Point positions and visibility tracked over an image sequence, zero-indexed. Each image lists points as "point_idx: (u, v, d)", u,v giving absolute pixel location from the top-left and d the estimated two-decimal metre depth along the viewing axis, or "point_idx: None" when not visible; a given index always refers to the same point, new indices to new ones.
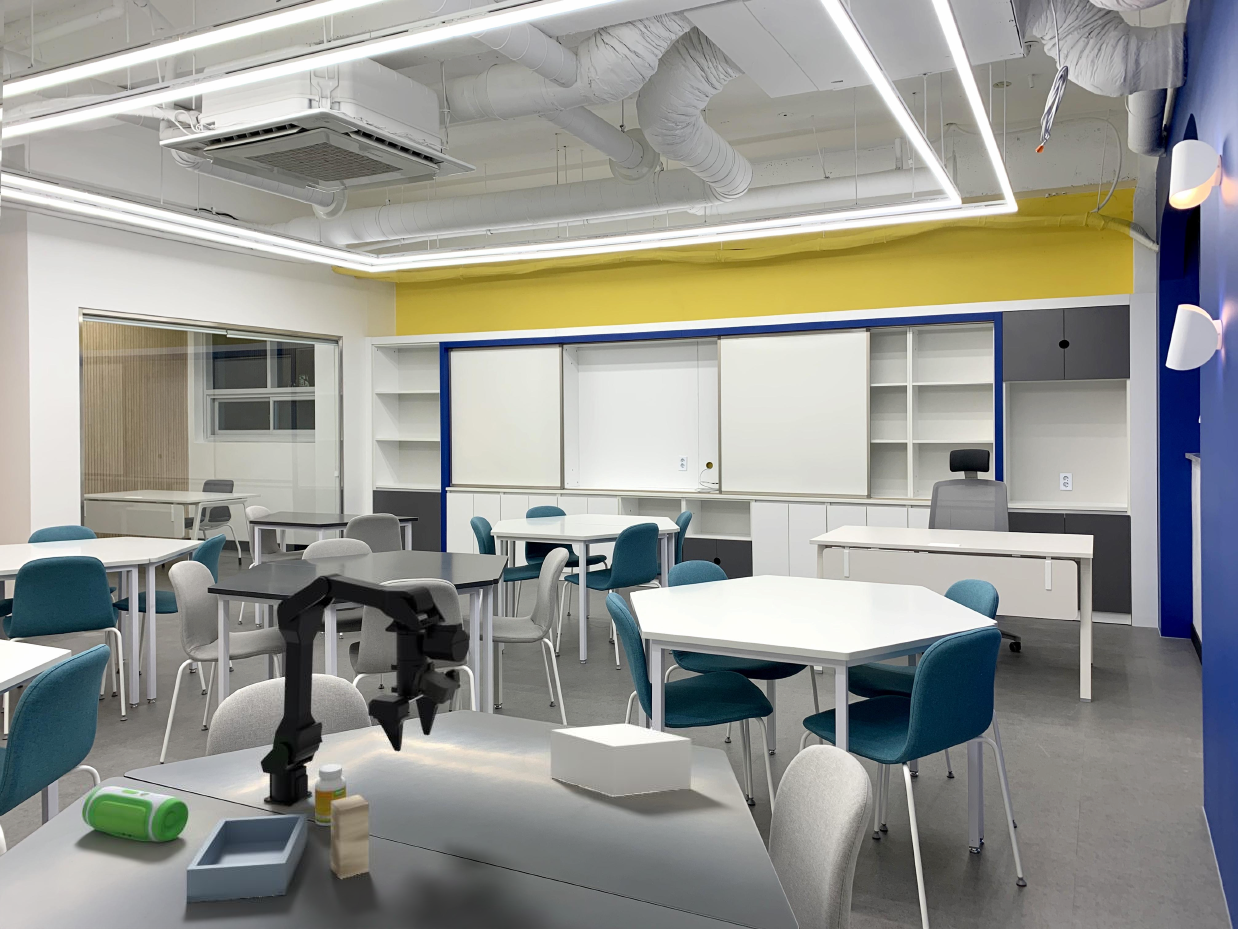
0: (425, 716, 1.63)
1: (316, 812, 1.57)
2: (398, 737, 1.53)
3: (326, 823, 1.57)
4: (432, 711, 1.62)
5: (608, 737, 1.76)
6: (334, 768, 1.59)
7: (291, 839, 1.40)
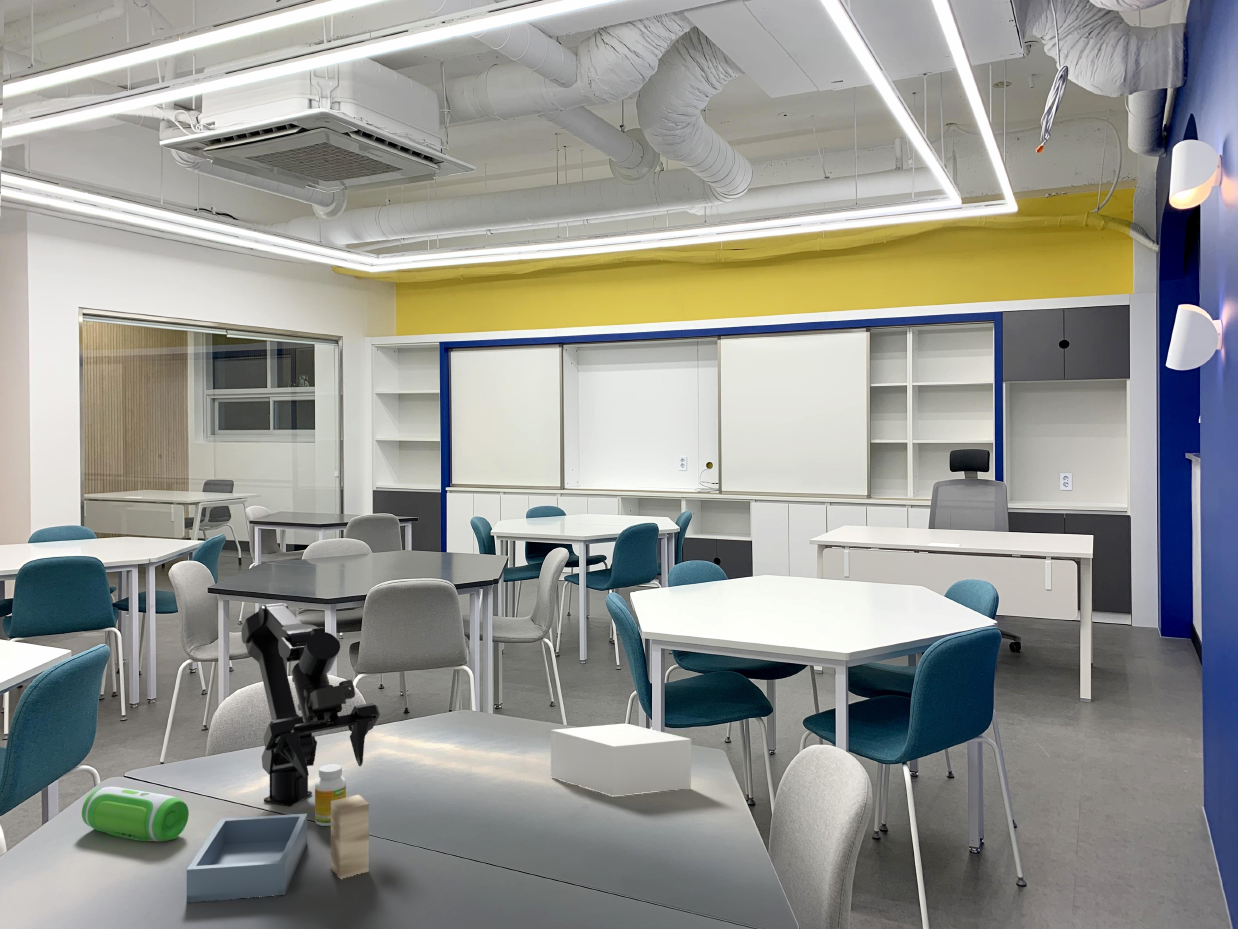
0: (355, 747, 1.53)
1: (316, 812, 1.57)
2: (298, 760, 1.45)
3: (326, 823, 1.57)
4: (357, 738, 1.52)
5: (608, 737, 1.76)
6: (334, 768, 1.59)
7: (291, 839, 1.40)
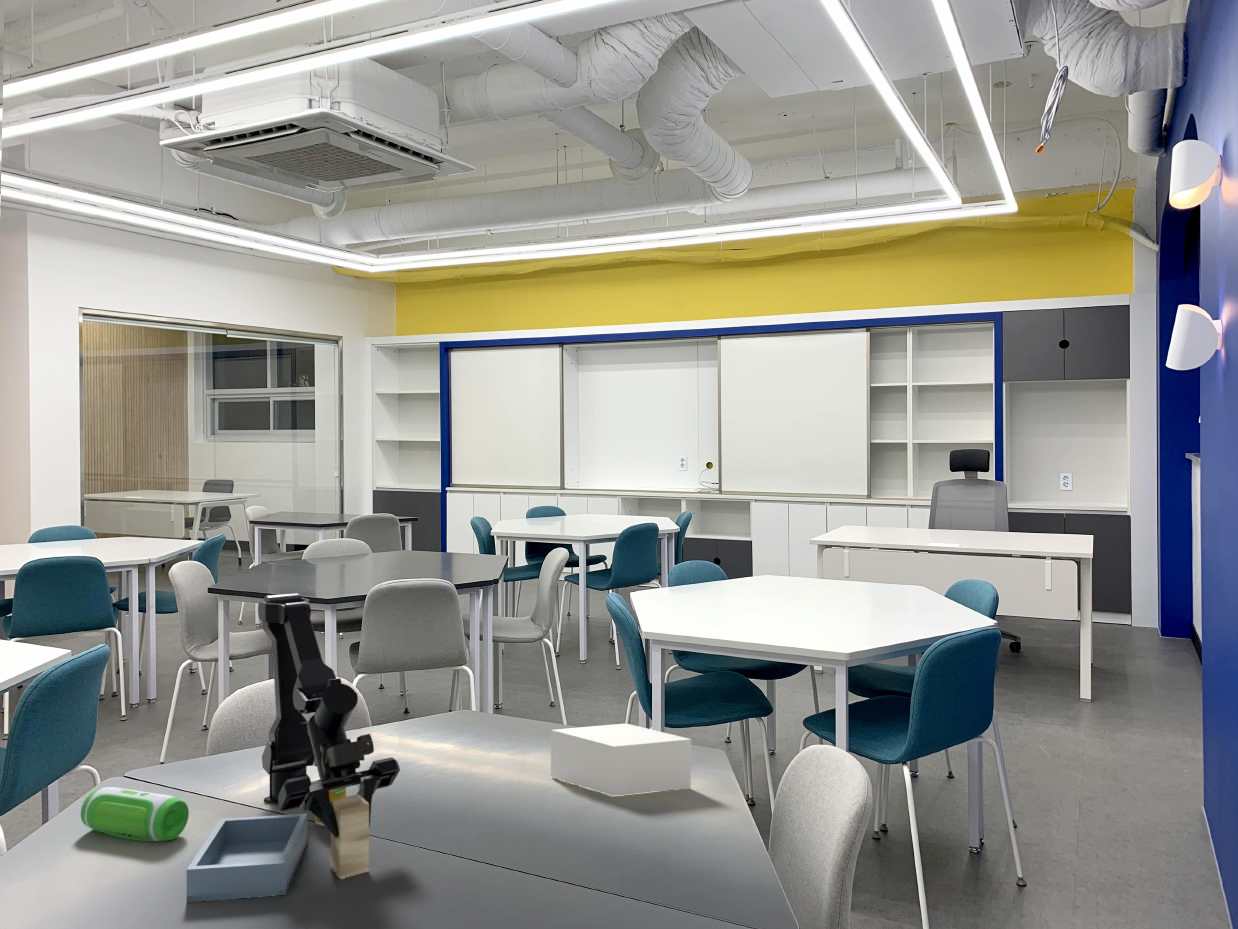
0: None
1: None
2: (328, 818, 1.39)
3: None
4: None
5: (608, 737, 1.76)
6: None
7: (291, 839, 1.40)
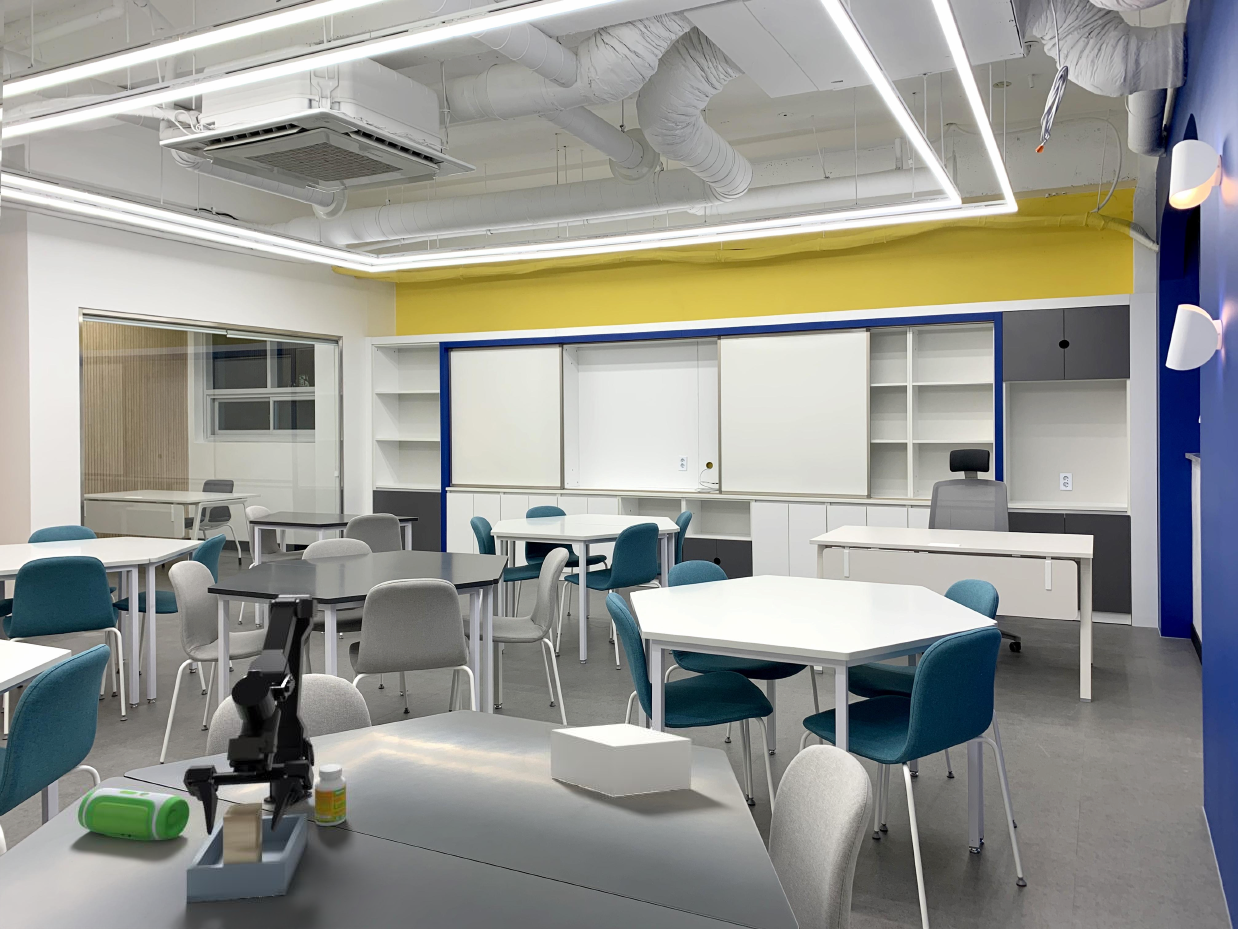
0: None
1: (316, 812, 1.57)
2: None
3: (326, 823, 1.57)
4: (277, 798, 1.37)
5: (608, 737, 1.76)
6: (334, 768, 1.59)
7: (291, 839, 1.40)
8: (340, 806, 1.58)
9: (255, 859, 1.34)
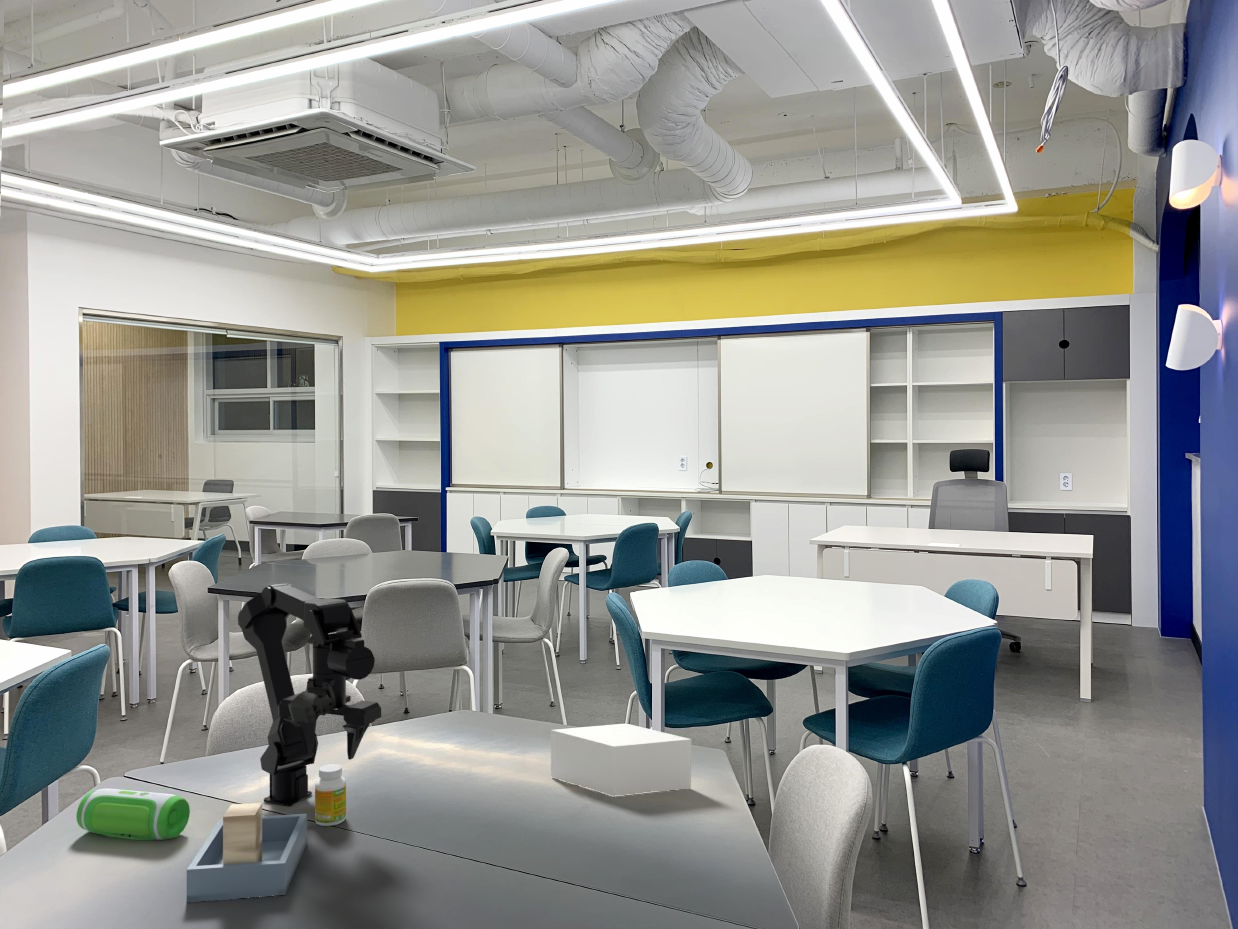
0: None
1: (316, 812, 1.57)
2: None
3: (326, 823, 1.57)
4: None
5: (608, 737, 1.76)
6: (334, 768, 1.59)
7: (291, 839, 1.40)
8: (340, 806, 1.58)
9: (255, 859, 1.34)
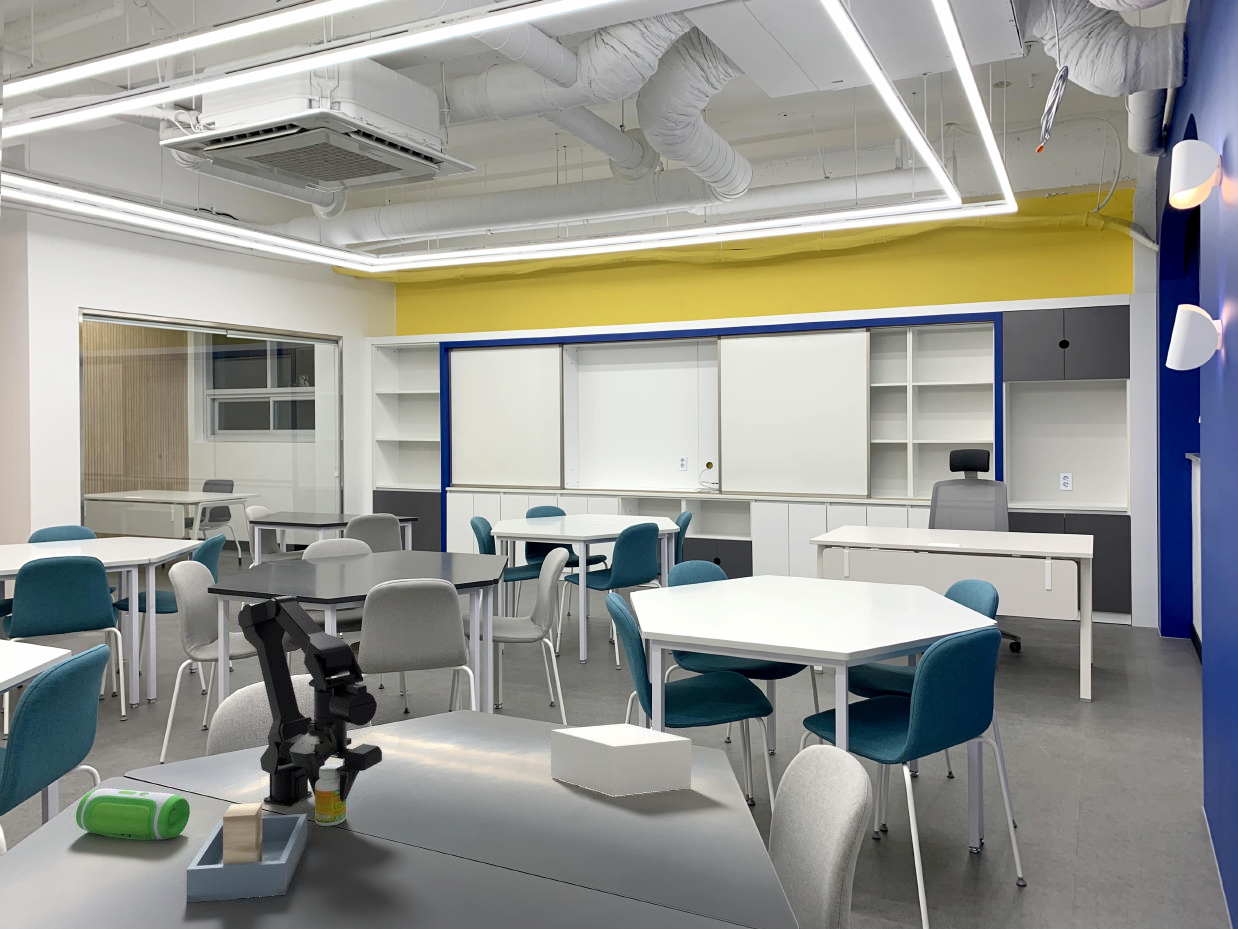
0: None
1: (316, 812, 1.57)
2: (310, 782, 1.60)
3: (326, 823, 1.57)
4: None
5: (608, 737, 1.76)
6: (334, 768, 1.59)
7: (291, 839, 1.40)
8: (340, 806, 1.58)
9: (255, 859, 1.34)
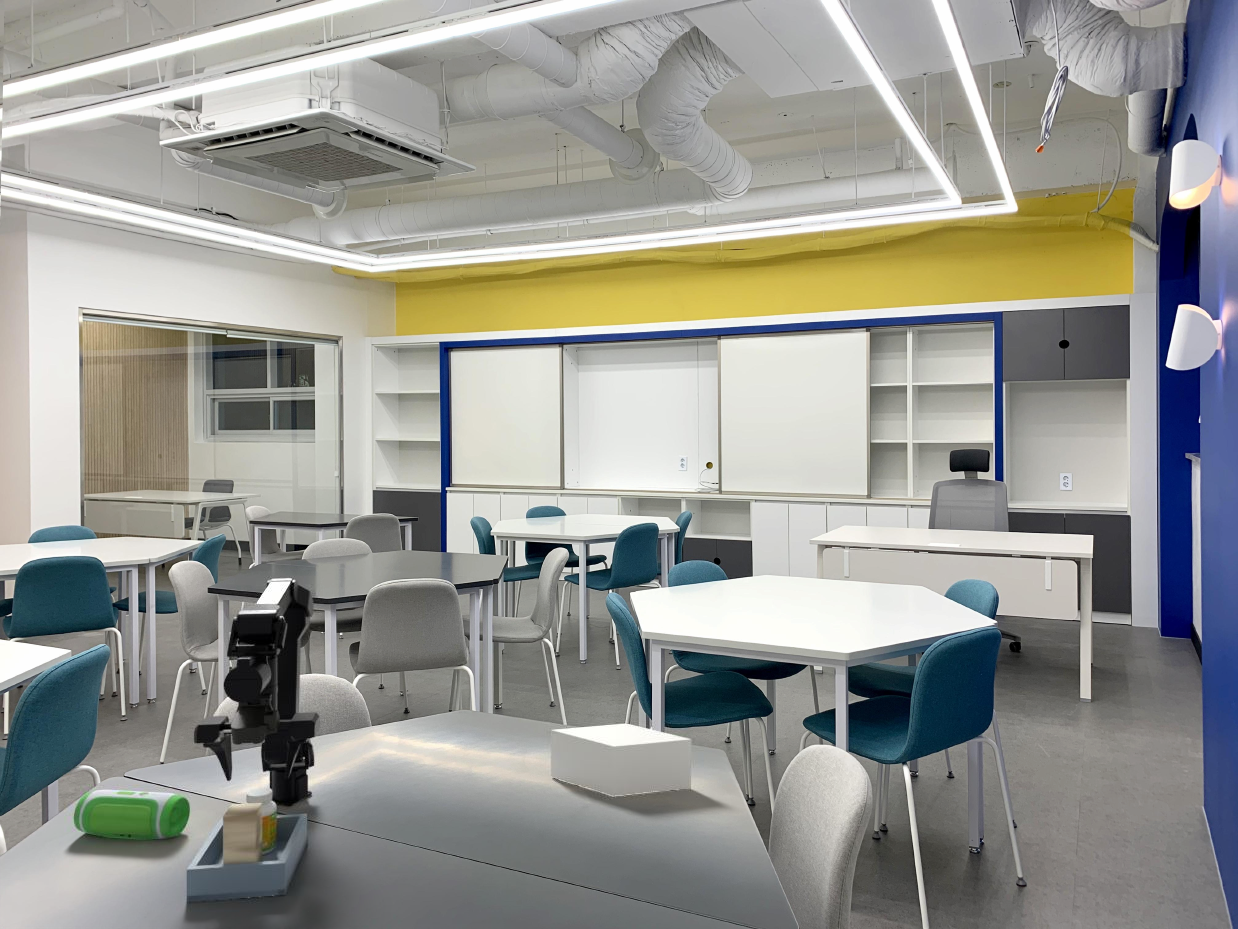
0: None
1: None
2: None
3: (262, 852, 1.43)
4: (287, 752, 1.45)
5: (608, 737, 1.76)
6: (265, 791, 1.45)
7: (291, 839, 1.40)
8: (275, 830, 1.45)
9: (255, 859, 1.34)
